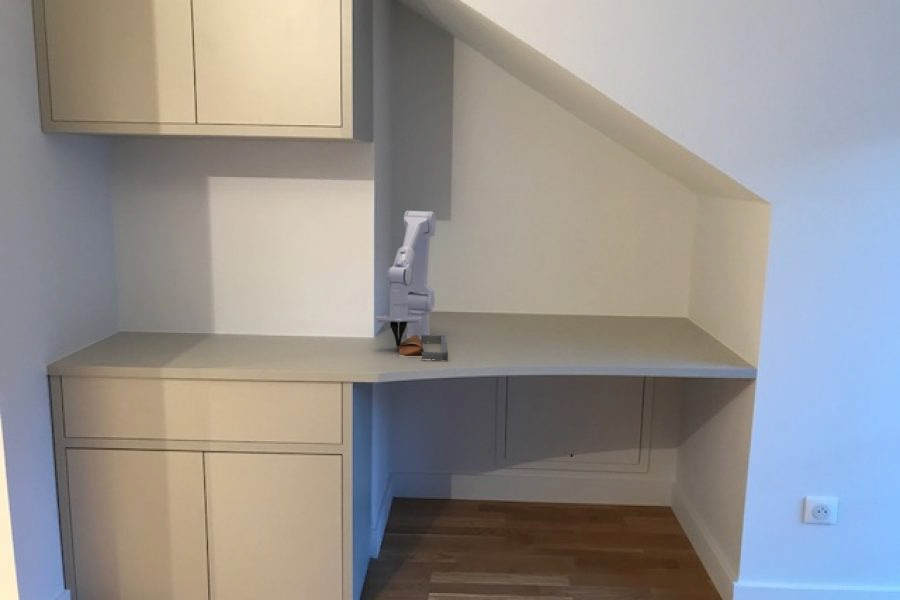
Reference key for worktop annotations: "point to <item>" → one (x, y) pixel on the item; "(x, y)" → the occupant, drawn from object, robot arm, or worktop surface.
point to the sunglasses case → (411, 347)
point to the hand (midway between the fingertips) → (398, 344)
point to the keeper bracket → (435, 339)
